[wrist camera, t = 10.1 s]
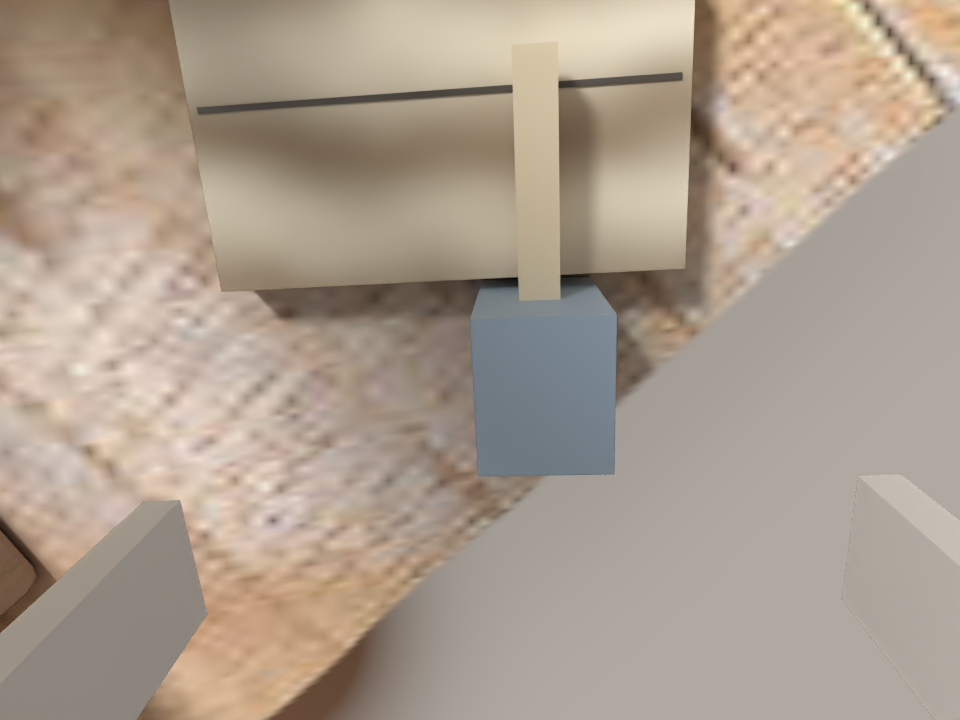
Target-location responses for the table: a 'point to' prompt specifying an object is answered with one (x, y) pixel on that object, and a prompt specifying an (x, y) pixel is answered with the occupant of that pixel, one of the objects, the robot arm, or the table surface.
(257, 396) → the table surface
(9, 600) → the block
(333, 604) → the table surface
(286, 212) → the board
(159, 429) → the table surface
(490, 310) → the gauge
